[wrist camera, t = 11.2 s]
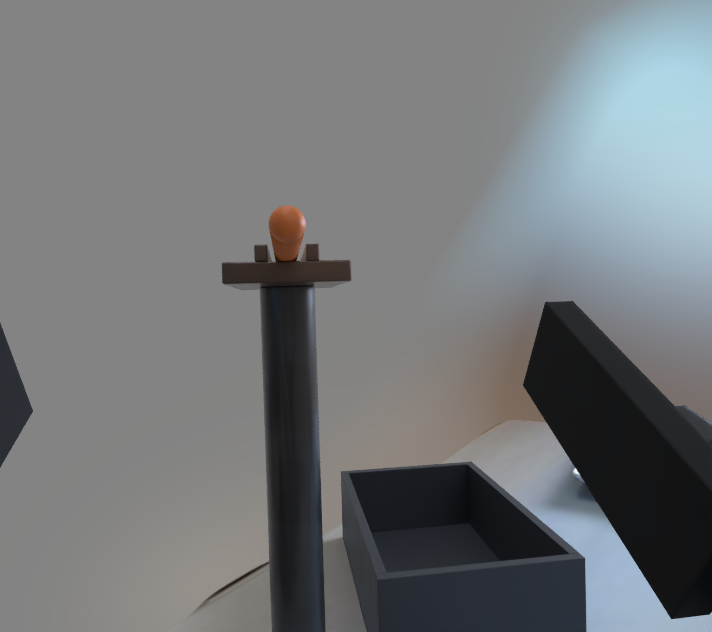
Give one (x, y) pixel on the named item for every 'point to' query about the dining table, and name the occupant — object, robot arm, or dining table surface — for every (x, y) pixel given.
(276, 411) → the stand
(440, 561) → the bin
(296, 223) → the orange rod
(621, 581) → the dining table surface
